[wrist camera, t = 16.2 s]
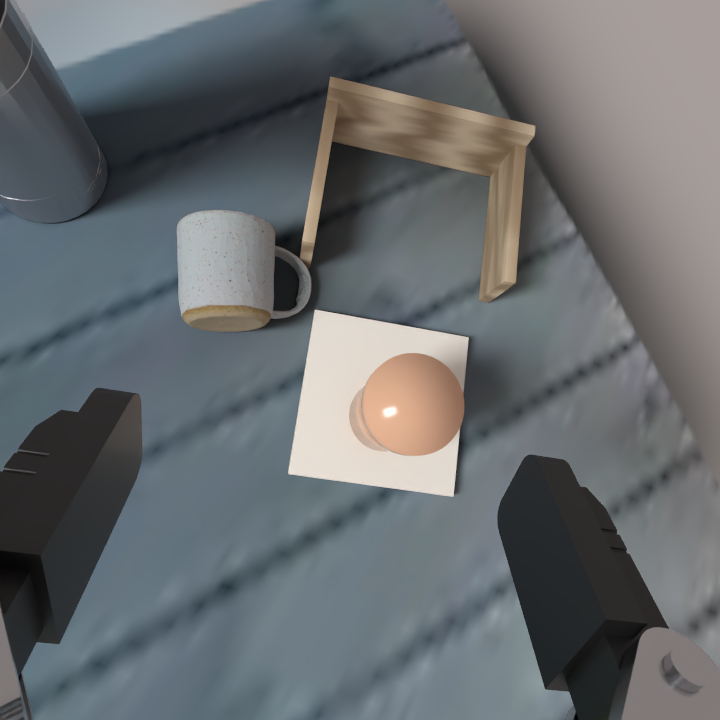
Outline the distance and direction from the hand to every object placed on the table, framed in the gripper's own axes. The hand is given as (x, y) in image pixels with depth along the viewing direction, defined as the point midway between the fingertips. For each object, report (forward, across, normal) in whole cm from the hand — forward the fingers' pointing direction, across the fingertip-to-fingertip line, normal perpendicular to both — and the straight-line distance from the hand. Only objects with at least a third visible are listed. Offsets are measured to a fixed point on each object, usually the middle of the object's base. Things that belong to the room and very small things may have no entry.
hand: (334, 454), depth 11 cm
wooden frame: (+40, -7, +6) cm, 41 cm away
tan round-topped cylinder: (+26, -7, +19) cm, 33 cm away
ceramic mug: (+33, +6, +14) cm, 36 cm away
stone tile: (+27, -7, +19) cm, 34 cm away
